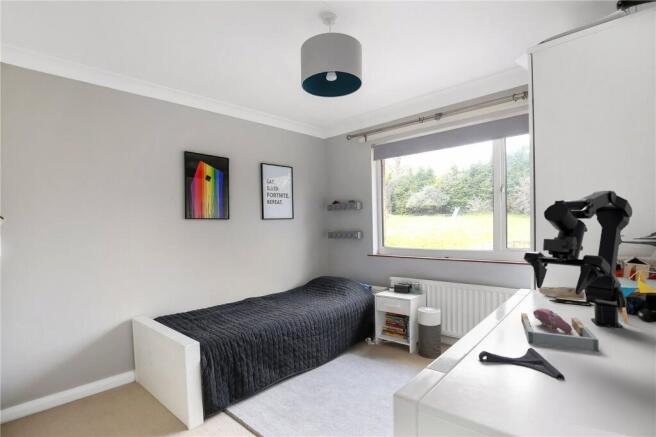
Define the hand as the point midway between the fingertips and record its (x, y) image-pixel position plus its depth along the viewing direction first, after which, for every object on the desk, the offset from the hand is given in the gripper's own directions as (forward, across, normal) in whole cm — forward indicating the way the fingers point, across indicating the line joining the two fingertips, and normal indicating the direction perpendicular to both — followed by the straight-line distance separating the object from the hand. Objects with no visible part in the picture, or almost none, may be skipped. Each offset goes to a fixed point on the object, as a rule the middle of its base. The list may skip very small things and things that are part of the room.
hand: (556, 290), depth 87 cm
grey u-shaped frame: (+11, -1, +10) cm, 15 cm away
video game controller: (+6, -8, +18) cm, 21 cm away
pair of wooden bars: (+6, -7, +18) cm, 20 cm away
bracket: (+23, 0, -10) cm, 25 cm away
